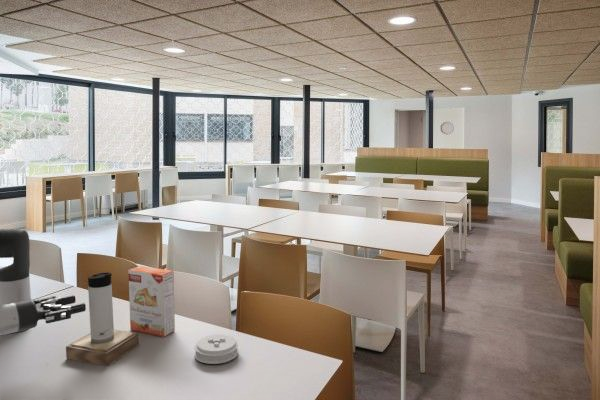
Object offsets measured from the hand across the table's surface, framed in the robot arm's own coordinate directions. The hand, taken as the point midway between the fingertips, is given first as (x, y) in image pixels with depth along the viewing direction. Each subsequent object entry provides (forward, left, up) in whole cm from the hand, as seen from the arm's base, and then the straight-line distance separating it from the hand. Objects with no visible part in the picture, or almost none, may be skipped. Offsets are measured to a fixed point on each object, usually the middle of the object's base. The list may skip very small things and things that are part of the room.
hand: (80, 302), depth 127 cm
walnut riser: (+3, +5, -16) cm, 18 cm away
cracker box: (+8, +22, -17) cm, 29 cm away
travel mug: (+3, +5, -13) cm, 14 cm away
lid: (+36, +13, -17) cm, 42 cm away
